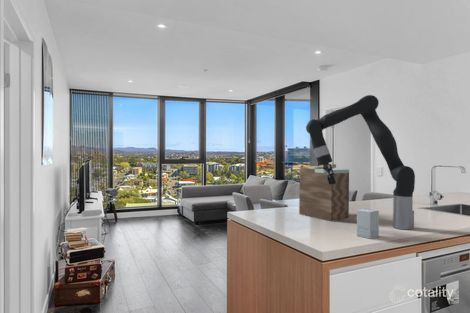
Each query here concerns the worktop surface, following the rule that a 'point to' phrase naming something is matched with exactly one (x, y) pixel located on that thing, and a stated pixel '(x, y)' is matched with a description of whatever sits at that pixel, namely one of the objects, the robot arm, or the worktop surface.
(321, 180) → the walnut stand
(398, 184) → the robot arm
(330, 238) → the worktop surface
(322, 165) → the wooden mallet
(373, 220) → the supplement box
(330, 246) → the worktop surface
